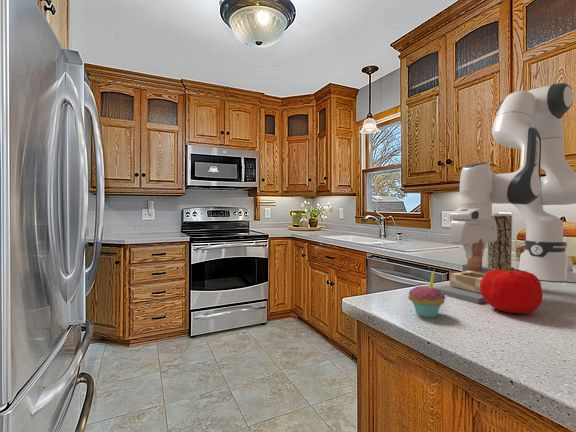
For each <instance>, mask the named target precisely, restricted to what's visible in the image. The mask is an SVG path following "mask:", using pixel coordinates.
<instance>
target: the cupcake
mask: <svg viewBox="0 0 576 432" xmlns="http://www.w3.org/2000/svg"><path fill="white" fill-rule="evenodd" d="M435 274H436V273H435V268H434V269H433V271H431V276H430V281H429V286H423V285H421V286H415V287H413V288H411V289H410V290H409V291H408V300H410V301H411V302H412V304H413V306H414V310H415V312H416V314H417V315H418V316H420V317H424V318H435V317H437V316H438V313H439V310H440V307H441V306H442V305H443V304H445V300H446V296H445V295H444V294H442V292H440V291H439V290H437V289H436V288H435V287H434V286H433V285H434V279H435Z"/></svg>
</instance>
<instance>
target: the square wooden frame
mask: <svg viewBox="0 0 576 432" xmlns="http://www.w3.org/2000/svg"><path fill="white" fill-rule="evenodd" d="M484 274H485V273H479V272H473V271H463V270H462V271H459V272H453V273H450V274H449V277H450V278H449V285H450V286H452V287H456V288H461V289H465V290H470V291H474V292H478V293H481V292H480V282H481V280H482V278H483V276H484Z"/></svg>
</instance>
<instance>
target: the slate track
mask: <svg viewBox="0 0 576 432" xmlns="http://www.w3.org/2000/svg"><path fill="white" fill-rule="evenodd" d="M490 270H494V268H488V266H487V267H486V266H482V271H473V272H479V273H486V272H488V271H490ZM463 271H470V270H467V264H466V263H465V264H462V272H463ZM434 288H436V289H437V290H439V291H440V292H442V294H444V296H445V295H447V297H449V296H450V298H453V297H454V298H453V299H457V298H458V300H461V299H462V300H461V301H465V302H469V303H472V304H477V305H479V304H483V303H487V302H486V301H485V299H484V298H483V296H482V295H481V293H478V292H474V291H470V290H465V289H461V288H456V287H452V286H450V284H446V285H440V286H436V287H434Z"/></svg>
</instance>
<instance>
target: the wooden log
mask: <svg viewBox="0 0 576 432" xmlns="http://www.w3.org/2000/svg"><path fill="white" fill-rule="evenodd" d="M492 216H493V217H494V220H495V221H496V224H497V240H496V241H495V242H487V268H494V269H507V268H509V269H511V267H512V243H513V242H512V238H513V237H512V232H513V228H512V227H513V224H512V223H513V222H512V221H513V220H512V219H513V218H512V217H513V215H512V214H511V213H492Z"/></svg>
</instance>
